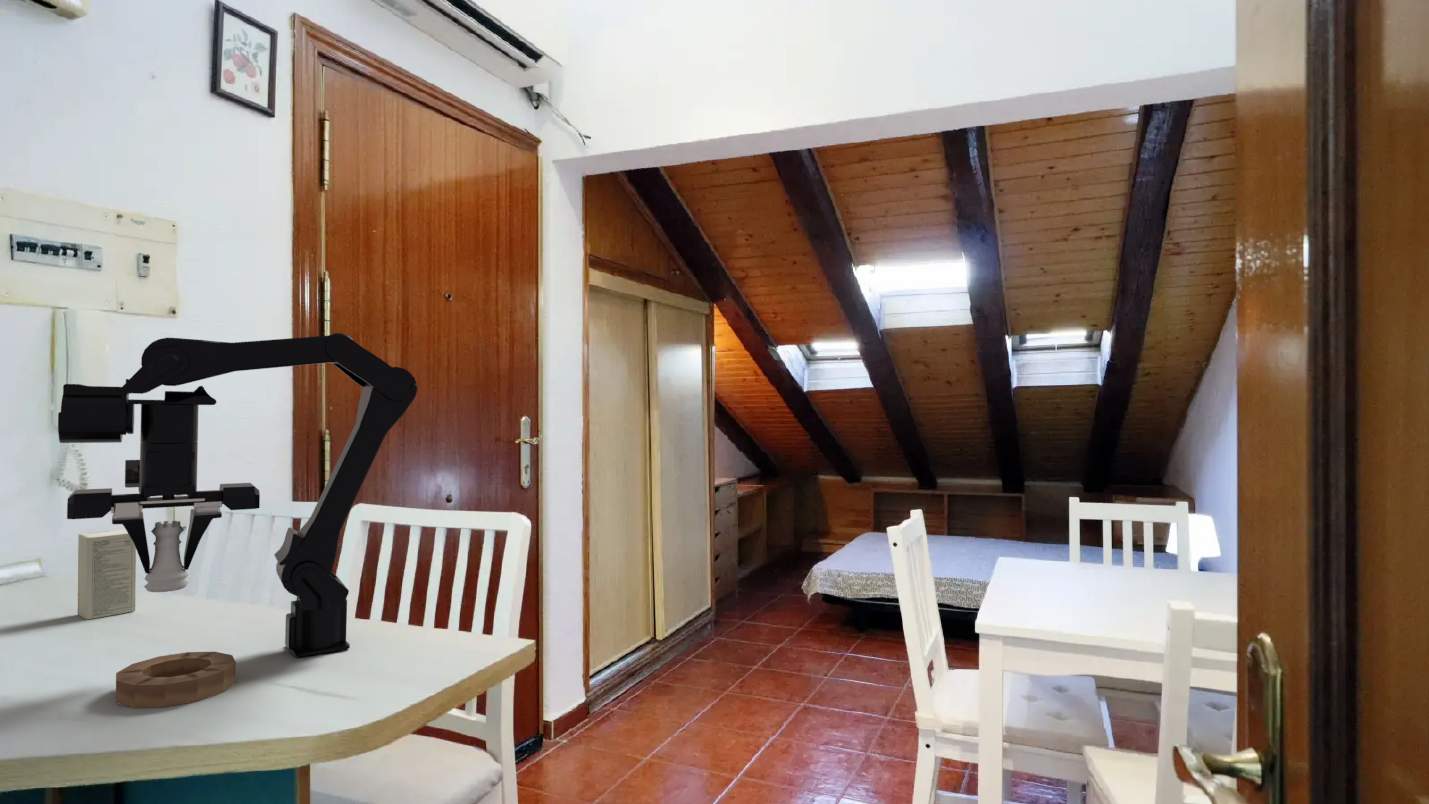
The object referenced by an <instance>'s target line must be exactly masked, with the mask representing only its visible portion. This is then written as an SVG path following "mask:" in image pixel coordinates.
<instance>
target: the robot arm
mask: <svg viewBox="0 0 1429 804" xmlns="http://www.w3.org/2000/svg"><path fill="white" fill-rule="evenodd" d="M140 364H141V367H140V368H139V369H138V370H137V371H136V372H135V373H134V374H133V375H132V376H131V377H130V378H129V379H128V378H126V379H125V383H124V384H123V385H122V386H103V385H99V386H97V385H96V386H94V385H93V386H91V385H84V384H81V383H80V384H79V383H65V384H63V387H62V391H63V392H62V396H61V397H62V398H61V403H60V411H59V412H58V414H57V432H58V440H59V443H60V444H94V443H95V444H96V443H98V444H100V443H101V444H102V443H104V444H105V443H107V444H109V443H110V444H111V443H112V444H113V443H116V444H117V443H122V441H123V437H124V436H126V435H133V434H134V433H135V432H134V431H135V405H140V438H139V439H140V444H139V445H140V447H139V450H140V451H139V459H126V460H124V461H125V466H124V487H125V488H138V493H121V494H120V493H119V494H117V493H116V494H113V488H111V487H109V488H91V489H90V488H88V489H87V488H86V489H84V488H82V489H75V490H74V491H73V492H72V493H71V494H69V496H68V498H67V505H66V519H67V520H83V519H84V520H85V519H101V518H104V517H105V516H107V514H109V512H110V513H111V514H112V518H111V524H112V525H122V526H123V527H124V529H126V531H127V532H128V534H129V536H130V537H131V539H132V541H133V543H134V545H135V547H136V553H137V554H138V558H139V560H140V562H141V565H142V567H143V570H144V572H145V574H146V575H147V574H148V573H150V568H151V560H150V552H149V545H148V540H147V532H146V527H145V519H144V512H143V509H159V508H162V509H164V508H176V507H180V508H181V507H192V508H191V509H190V513H189V523H188V528H187V536H186V542H185V548H184V553H183V566H184V568H183V569H184V570H185V571H188V570H189V568H190V565H191V563H192V561H193V558H194V556H195V554H196V551H197V548H198V546H199V544H200V542H201V539H202V538H203V536H204V534H205V532H206V531H207V530H208V527H209V526H210V524H211V522H212V521H213V519H221V518H223V513H222V512H221V510H220V509H221V508H223V505H224V506H225V507H226V508H228V510H230V511H240V510H242V511H243V510H256V509H260V506H261V505H260V504H261V503H260V499H261V496H260V489H259V488H257V487H256V486H255V485H254V484H253V483H251V482H240V483H233V482H232V483H220V484H219V488H218V489H211V490H210V489H209V490H198V453H199V451H198V447H199V444H198V443H199V442H198V441H199V406H214V405H216V404H217V399H215V398H213V396H211V395H210V394H209V393H208V392H207V391H206V389H205V388H204V386H203V385H199V386H198V387H196V389H195V390H194V391H181V390H180V391H179V390H178V391H177V390H176V391H175V390H174V391H173V390H165V391H164V399H131V398H130V394H137V395H139V394H147V393H149V392H151V391H153V390H155V389H157V388H159V387H160V386H167V387H177V386H181V385H185V384H189V383H194V382H198V381H202V380H206V379H210V378H214V377H218V376H221V375H225V374H229V373H234V372H243V371H254V370H255V371H256V370H264V369H274V368H287V367H296V366H299V367H300V366H307V365H309V366H310V365H319V364H332V365H333V366H334V367H336V368H337V369H338V370H340V371H341V372H342V373H343V374H344V375H346V376H347V377H348V378H349V379H350V380H352V382H354V383H356V384H357V385H358V386H360V387H361V388H362V391H361V395H360V397H359V402H358V408H357V413H356V418H355V419H356V421H355V424H354V426H353V429H352V431H351V433H350V434H349V437H348V439H347V441H346V443H345V446H344V447H343V449H342V452H341V453H340V455H339V458H338V459H337V461H336V464H335V465H334V468H333V469H332V472H331V474H330V476H329V479H328V480H327V482H326V485H325V487H324V488H323V491H322V493H321V495H320V497H319V499H318V501H317V503H316V505H315V507H314V509H313V511H312V514H311V516H310V517H309V518H308V520H307V521H306V522H305V524H304V525H303V526H302V527H301V528H300V529H299V530H298V531H297V530H296V529H294V528H292V527H288V528H287V530H286V534H285V536H284V540H283V542H282V545H281V547H280V548H279V549H278V550H277V551H276V552H275V553H274V557H275V559H276V561H277V562H276V566H275V567H276V568H275V570H276V571H275V572H276V574H277V576H278V578H279V581H280V582H281V584H282V586H283V587H284V590H286V591H287V593H289V594H291V595H293V596H296V597H297V599H298V600H293V601H290V612H289V613H286V614H285V630H284V632H285V633H284V634H285V636H284V645H285V646H286V647H287V649H288V650H289V651H290V652H291V653H292V655H294V657H295V658H299V657H306V656H312V655H317V654H318V655H319V654H324V653H330V652H336V651H342V650H348V649H350V645H351V644H350V643H349V642H348V641H347V620H348V618H347V617H348V616H347V615H348V611H347V610H348V599H347V597H348V595H349V592H350V591H349V589H348V588H347V587H346V585H345V584H344V583H343V581H342V580H341V579H340V578H339V576H337V575H336V574H335V573H333V569H334V565H335V562H336V558H337V552H338V549H339V541H340V535H341V531H342V528H343V526H344V525H345V522H346V520H347V518H348V516H349V514H350V512H351V509H352V507H353V505H354V502H355V501H356V499H357V496H358V495H359V492H360V491H361V488H362V486H363V484H364V482H365V479H366V478H367V475H368V473H369V472H370V469H371V467H372V465H373V462H374V460H376V459H375V458H376V456H377V454H378V453H379V452H378V451H379V450H380V448H381V446H382V444H383V441H384V440H385V437H386V436H387V434H388V433H389V432H390V431H391V430H392V429H393V427H394V426H395V425H396V424H397V423H398V422H399V421H400V420H401V418H402V417H403V416H404V414H405V413H406V411H407V410H408V409H409V407H410V406H411V405H412V403H413V402H414V400H415V399H416V396H417V394H418V393H417V392H418V390H419V389H418V387H419V385H418V384H417V381H416V379H415V377H414V376H413V374H412V373H411V372H410V371H409V370H407V369H405V368H403V367H398V366H391V365H389V364H388V363H387V362H386V361H384V360H383V359H381V358H380V357H379V356H377V355H375V354H374V353H372V352H371V351H369V350H368V349H366V348H364V347H363V346H361V344H359V343H357V341H355V340H354V339H353V338H352V337H351V336H350V335H348V334H345V333H340V332H336V333H335V332H334V333H332V334H329V335H319V336H307V337H306V336H305V337H291V338H290V337H289V338H278V339H267V340H266V339H265V340H264V339H263V340H250V341H239V342H225V341H215V340H208V339H207V340H205V339H195V338H180V337H164V338H163V337H162V338H159V339H157V340H154V341H152V342H151V343H150V344H149V345H147V346H146V348H145V349H144V351H143V352H142V355H141V363H140ZM129 398H130V399H129Z"/></svg>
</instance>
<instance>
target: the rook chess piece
mask: <svg viewBox="0 0 1429 804" xmlns="http://www.w3.org/2000/svg"><path fill="white" fill-rule="evenodd" d="M184 530H185V529H184V528H183V526H181V521H180V520H172V521H171V522H170V523H169V520H165V521H164V520H163V523H162V521H157V522H155V523H154V527H153V528H152V530H151V531H150V532H151V533H152V534H153V535H154V537H155V539H154V540H155V541H154V542H153V546H154V557H153V563H152V564H151V566H150V573H147V574H146V575H145V577H144V580H145V581H146V582H147V583H146V584H145V585H144V586H143V587H144V588H145V590H146V591H147V592H150V593H167V592H174V591H175V592H176V591H179V590H182V589H184V588H186V587H187V586H188V584H189V583H190V582H189V581H188V580H186V578H187V577H188V576H189V573H188V571H187V570H184V564H183V563H182V560H181V551H180V544H182V541H181V540H180V535H181V534H182V533H183V532H184Z"/></svg>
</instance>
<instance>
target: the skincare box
mask: <svg viewBox="0 0 1429 804" xmlns="http://www.w3.org/2000/svg"><path fill="white" fill-rule="evenodd" d="M77 549H78V550H77V553H78V554H77V559H78V560H77V561H78V562H77V563H78V565H77V579H78V580H77V615H79V616H80V617H81V618H83V619H85V620H92V619H99V618H104V617H109V616H113V615H121V614H125V613H131V612H136V602H137V601H136V598H137V597H136V595H137V593H136V591H137V589H136V588H137V586H136V584H137V583H136V582H137V580H136V579H137V578H136V577H137V549H136V547H135V545H134V543H133V541H132V539H131V537H130V536H129V534H128V532H127V531H126V529H125V528H122V529H121V528H119V529H111V530H105V531H96V532H93V531H92V532H87V533H86V532H85V533H79V534H78V547H77Z"/></svg>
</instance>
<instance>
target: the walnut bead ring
mask: <svg viewBox="0 0 1429 804" xmlns="http://www.w3.org/2000/svg"><path fill="white" fill-rule="evenodd" d="M236 665H237V661H236V660H235V657H234V656H233V654H229V653H225V652H224V653H223V652H219V651H186V652H181V653H174V654H166V655H160V656H159V655H158V656H156V657H151V658H149V659H145V660H141V661H138V662H134V663H131V664H130V665H128V666H125V667H124V668H122V669H121V670H119V671H117V672H115V701H116V702H115V704H118V705H121V706H127V707H129V708H134V709H137V708H140V709H141V708H143V709H144V708H165V707H166V708H168V707H171V706H178V705H183V704H188V703H194V702H199V701H201V700H204V699H208V698H210V697H212V696H216V695H218V694H222V693H223V692H225V691H227V690H228V689H229V688H230V687H231V686H233V685H234V684H236V674H237V673H236V670H237V669H236V668H237V666H236Z"/></svg>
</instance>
